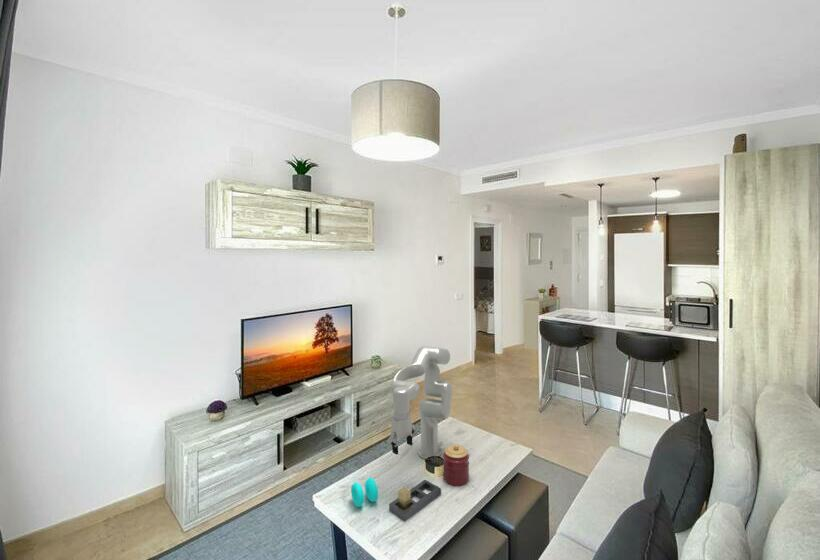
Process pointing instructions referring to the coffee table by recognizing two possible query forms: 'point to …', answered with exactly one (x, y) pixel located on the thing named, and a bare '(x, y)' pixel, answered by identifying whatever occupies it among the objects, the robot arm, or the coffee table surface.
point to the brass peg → (404, 498)
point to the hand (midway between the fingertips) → (402, 448)
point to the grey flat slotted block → (418, 505)
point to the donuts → (359, 494)
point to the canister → (456, 465)
